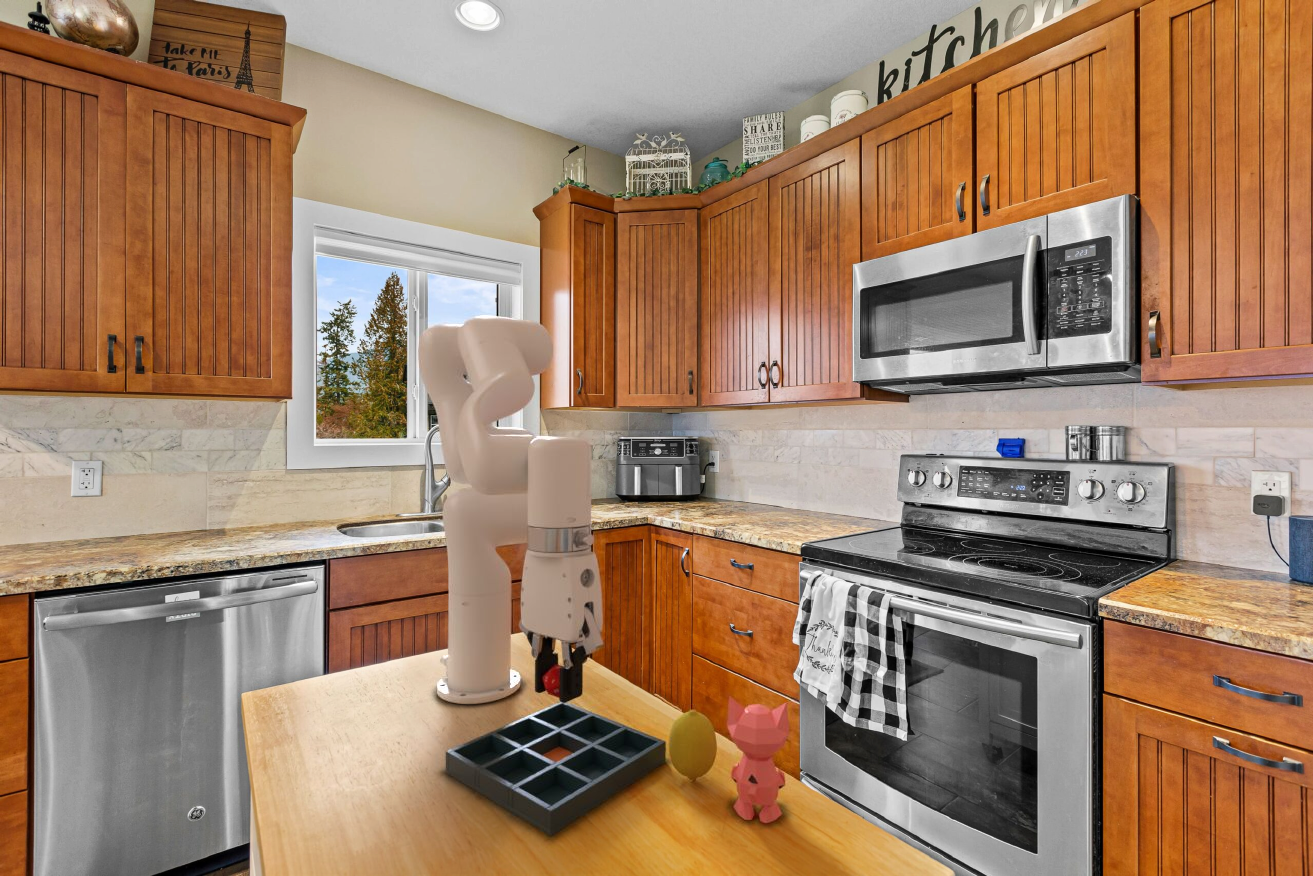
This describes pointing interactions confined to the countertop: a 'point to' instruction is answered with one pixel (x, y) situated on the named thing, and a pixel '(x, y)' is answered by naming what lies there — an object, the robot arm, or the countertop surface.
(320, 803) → the countertop surface
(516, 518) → the robot arm
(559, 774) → the grid
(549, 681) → the die
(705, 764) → the lemon
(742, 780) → the cat figurine
